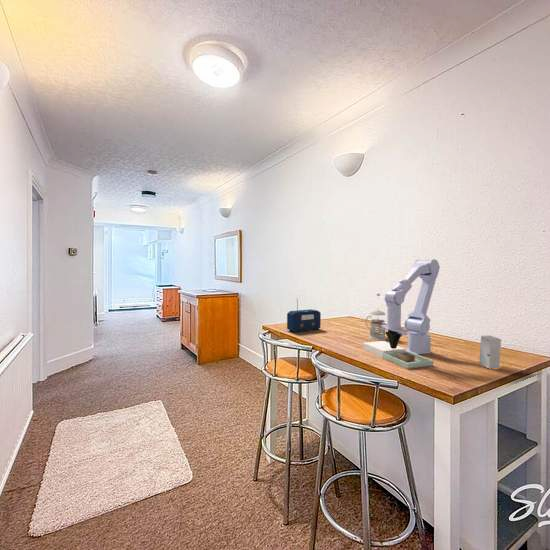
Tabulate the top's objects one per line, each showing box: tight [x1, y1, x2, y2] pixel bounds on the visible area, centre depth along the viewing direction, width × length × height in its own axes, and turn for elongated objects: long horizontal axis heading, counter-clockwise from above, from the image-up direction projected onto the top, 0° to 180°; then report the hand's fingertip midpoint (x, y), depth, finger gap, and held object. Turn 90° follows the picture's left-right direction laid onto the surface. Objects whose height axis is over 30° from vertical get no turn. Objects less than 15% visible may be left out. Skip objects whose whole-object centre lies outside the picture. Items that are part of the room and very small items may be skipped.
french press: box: [365, 293, 388, 341], centre depth 170 cm, size 10×12×25 cm
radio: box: [286, 298, 322, 333], centre depth 189 cm, size 21×9×20 cm, turn 119°
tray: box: [381, 351, 434, 370], centre depth 127 cm, size 13×15×2 cm
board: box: [362, 340, 406, 358], centre depth 141 cm, size 12×15×3 cm
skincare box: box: [478, 335, 502, 369], centre depth 120 cm, size 6×4×12 cm
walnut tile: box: [397, 353, 415, 363], centre depth 127 cm, size 5×5×2 cm
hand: (393, 348), depth 134 cm, fingers closed
